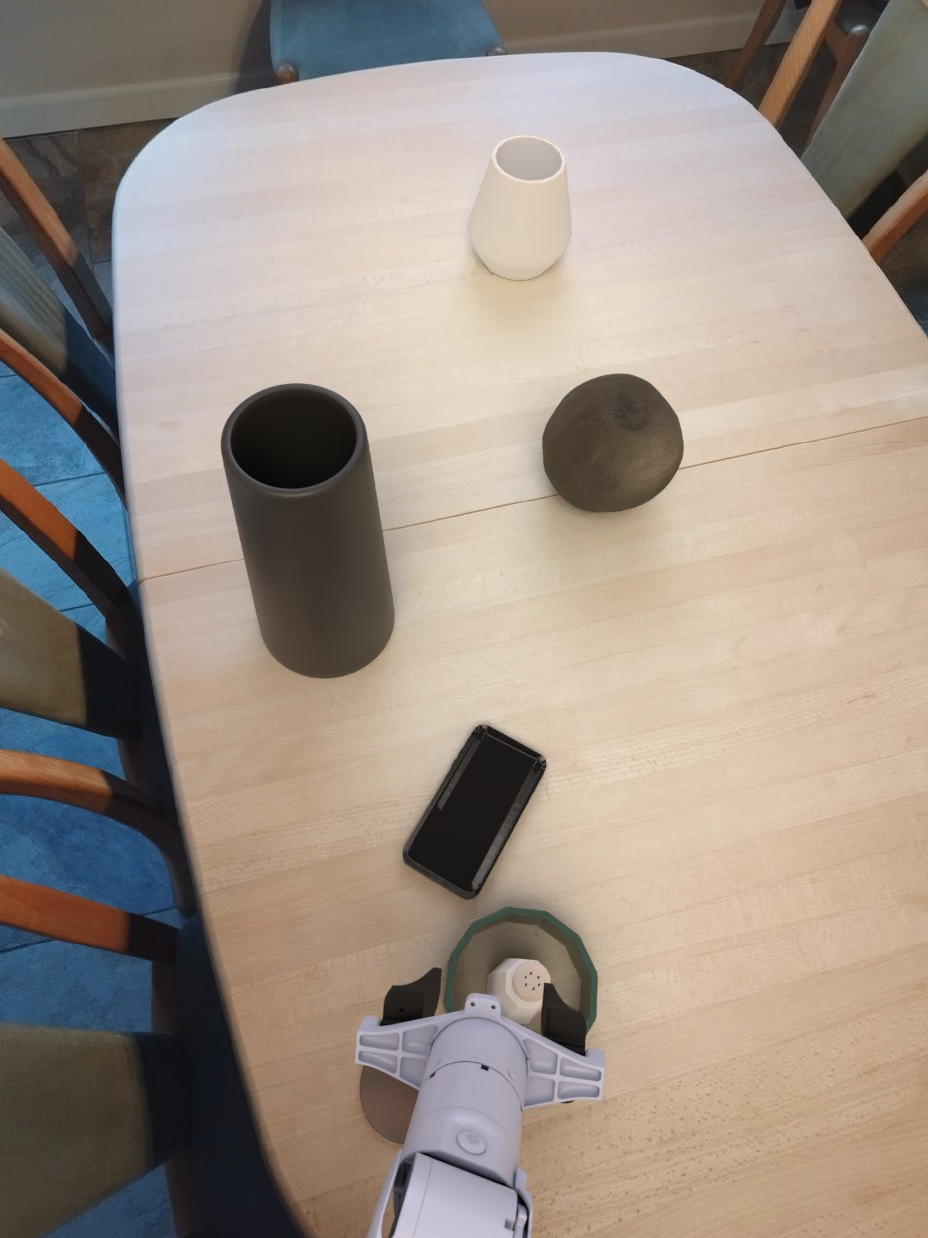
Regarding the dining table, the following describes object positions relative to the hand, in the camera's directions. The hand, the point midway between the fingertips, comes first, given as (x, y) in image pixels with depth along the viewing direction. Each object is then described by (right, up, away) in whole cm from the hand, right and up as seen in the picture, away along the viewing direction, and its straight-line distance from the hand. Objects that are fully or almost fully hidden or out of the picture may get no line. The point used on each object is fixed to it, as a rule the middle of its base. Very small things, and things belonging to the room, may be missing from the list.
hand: (491, 989), depth 59 cm
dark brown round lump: (+13, +40, +39) cm, 57 cm away
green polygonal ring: (+3, -6, +14) cm, 16 cm away
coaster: (-6, -12, +11) cm, 18 cm away
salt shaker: (+3, -6, +15) cm, 16 cm away
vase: (-16, +25, +30) cm, 42 cm away
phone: (-1, +8, +21) cm, 23 cm away
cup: (+5, +73, +55) cm, 92 cm away
